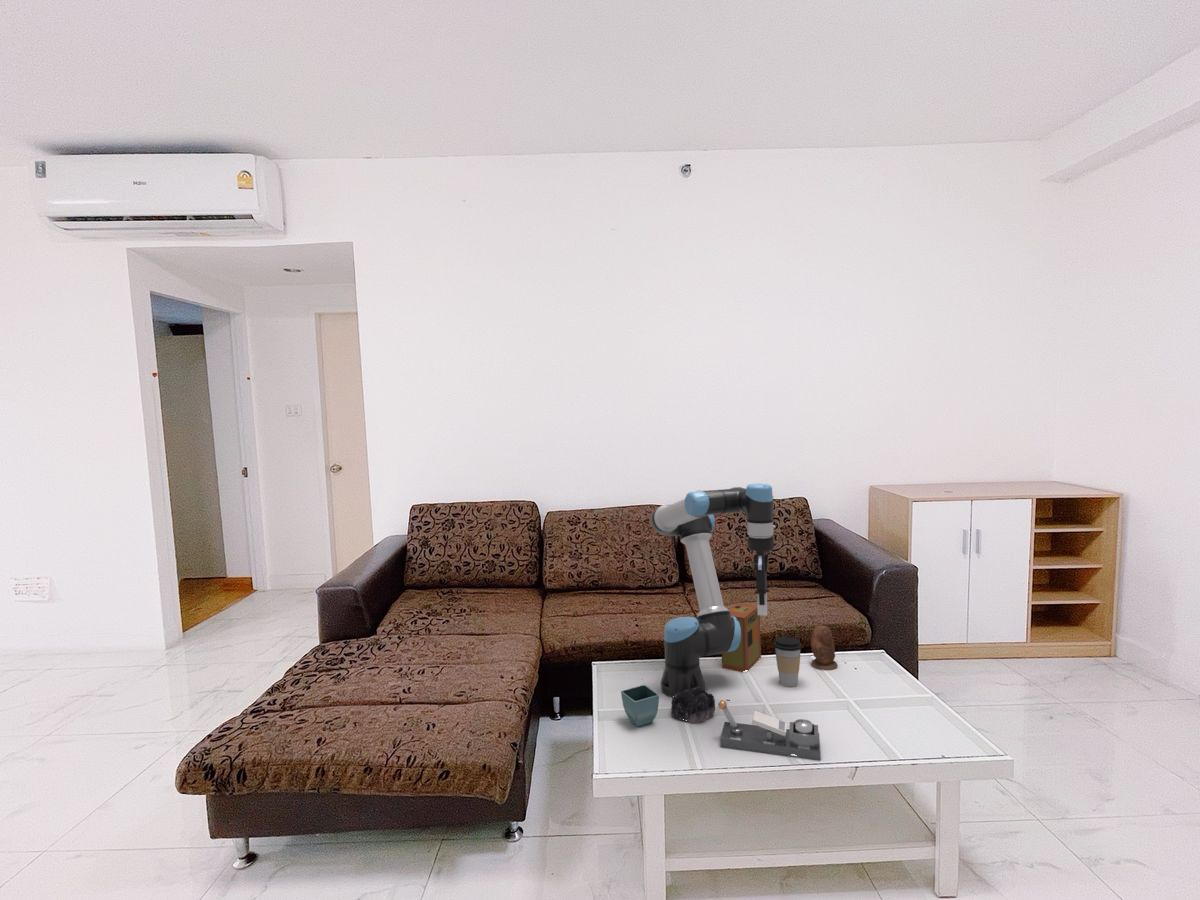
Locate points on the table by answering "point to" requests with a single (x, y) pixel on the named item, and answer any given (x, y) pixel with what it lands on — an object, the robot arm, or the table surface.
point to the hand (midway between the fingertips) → (762, 614)
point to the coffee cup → (788, 659)
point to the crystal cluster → (693, 705)
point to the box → (744, 639)
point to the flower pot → (640, 704)
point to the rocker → (769, 723)
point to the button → (803, 726)
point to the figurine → (823, 648)
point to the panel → (771, 740)
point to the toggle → (727, 713)
